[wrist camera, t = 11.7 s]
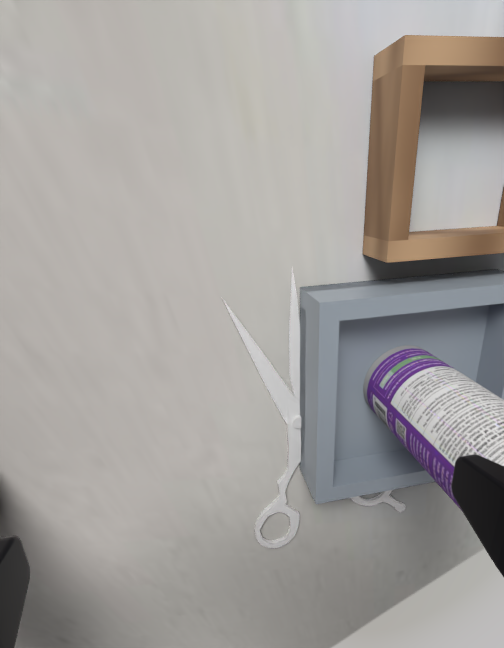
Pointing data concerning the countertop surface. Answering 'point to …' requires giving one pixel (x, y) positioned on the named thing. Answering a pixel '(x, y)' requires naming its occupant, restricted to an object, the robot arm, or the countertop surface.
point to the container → (435, 411)
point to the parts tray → (365, 348)
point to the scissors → (289, 422)
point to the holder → (402, 139)
